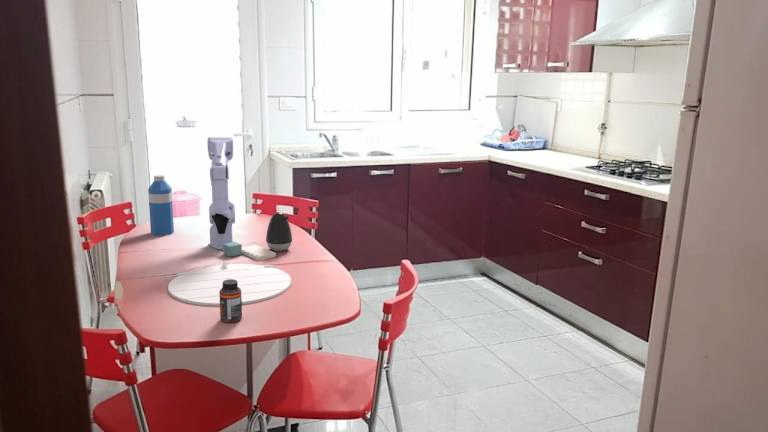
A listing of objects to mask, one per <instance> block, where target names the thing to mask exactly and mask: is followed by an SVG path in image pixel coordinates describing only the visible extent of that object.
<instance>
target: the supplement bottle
mask: <svg viewBox="0 0 768 432" xmlns="http://www.w3.org/2000/svg"><path fill="white" fill-rule="evenodd" d="M237 286H238V283H237V280H234V279H228V280H224V281H223V288H222V289H220V292H219V294H220V296H219V297H220V306H219V313H220V314H219V316H220V321H222V322H223V323H226V324H229V323H232V324H234V323H237V322H239V321H241V320H242V318H243V305H242V297H241V289H240V288H239V287H237Z"/></svg>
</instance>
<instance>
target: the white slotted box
mask: <svg viewBox="0 0 768 432" xmlns="http://www.w3.org/2000/svg"><path fill="white" fill-rule="evenodd" d="M242 255H244V256H247V257H249V258H251V259H253V260H256V261H261V260H266V259H267V260H268V259H271V258H275V257H277V253H276V252H275V251H273V250H269V249H267V248H264V247H261V246H259V245H256V244H252V245H251V244H250V245H247V246H242Z"/></svg>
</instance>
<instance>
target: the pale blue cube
mask: <svg viewBox="0 0 768 432" xmlns="http://www.w3.org/2000/svg"><path fill="white" fill-rule="evenodd" d="M242 247H243V246H242V244H241V243H239V242H236V241H233V242H231V243H225V244H223V249H222V252H223V255H225V256H227V257H229V258H230V257H231V258H232V257H237V256H240V255H241V256H242V255H243V254H242Z"/></svg>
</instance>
